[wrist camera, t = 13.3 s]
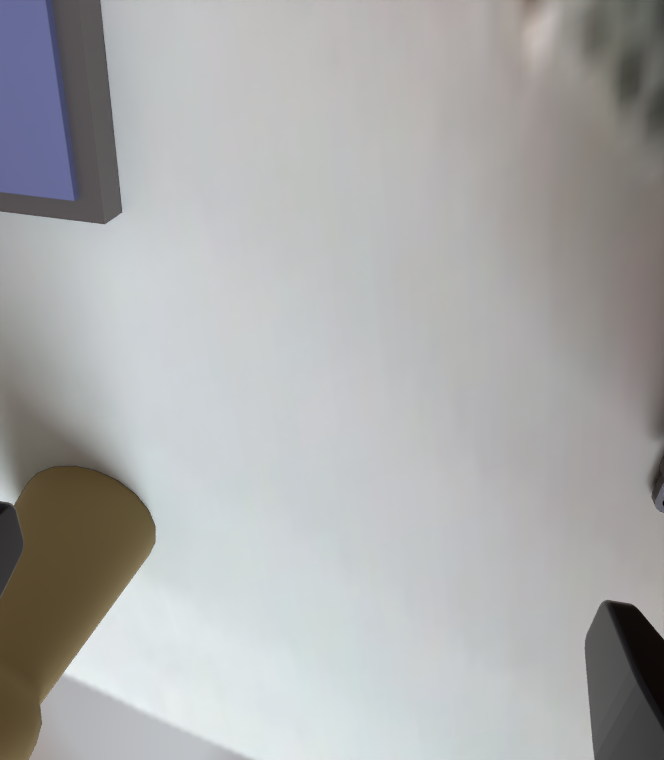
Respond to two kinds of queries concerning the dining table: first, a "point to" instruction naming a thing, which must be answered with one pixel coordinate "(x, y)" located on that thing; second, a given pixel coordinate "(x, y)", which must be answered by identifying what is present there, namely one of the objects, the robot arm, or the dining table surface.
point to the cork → (62, 586)
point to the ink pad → (56, 112)
